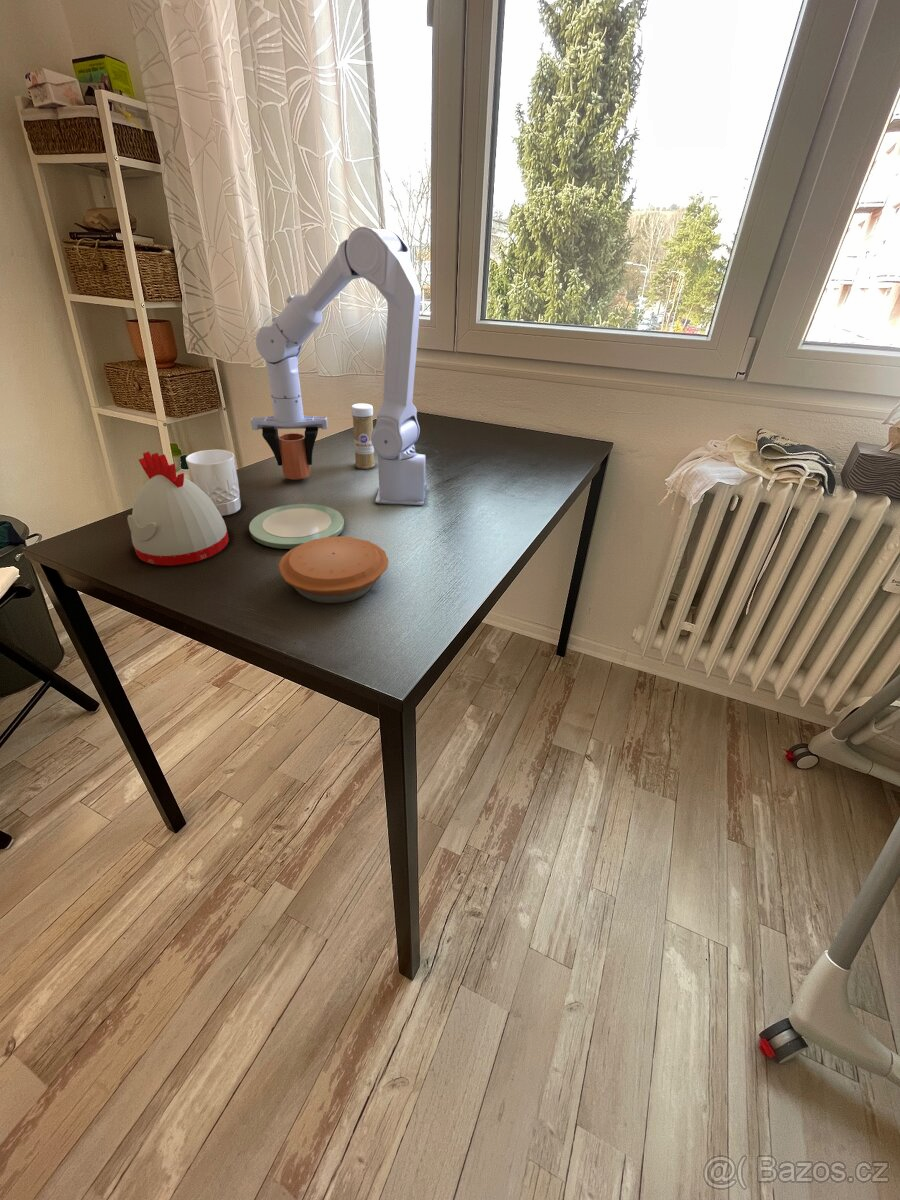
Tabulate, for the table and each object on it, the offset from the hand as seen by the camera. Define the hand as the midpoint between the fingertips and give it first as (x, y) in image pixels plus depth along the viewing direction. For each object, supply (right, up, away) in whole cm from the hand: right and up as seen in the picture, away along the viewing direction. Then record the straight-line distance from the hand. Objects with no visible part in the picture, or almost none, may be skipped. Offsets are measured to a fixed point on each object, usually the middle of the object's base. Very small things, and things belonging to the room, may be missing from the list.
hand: (295, 463), depth 107 cm
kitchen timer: (-11, -20, -23) cm, 32 cm away
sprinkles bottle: (+13, +2, +11) cm, 17 cm away
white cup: (-10, -12, -11) cm, 19 cm away
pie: (+15, -26, -31) cm, 43 cm away
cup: (0, -2, +1) cm, 2 cm away
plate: (+6, -16, -17) cm, 24 cm away
